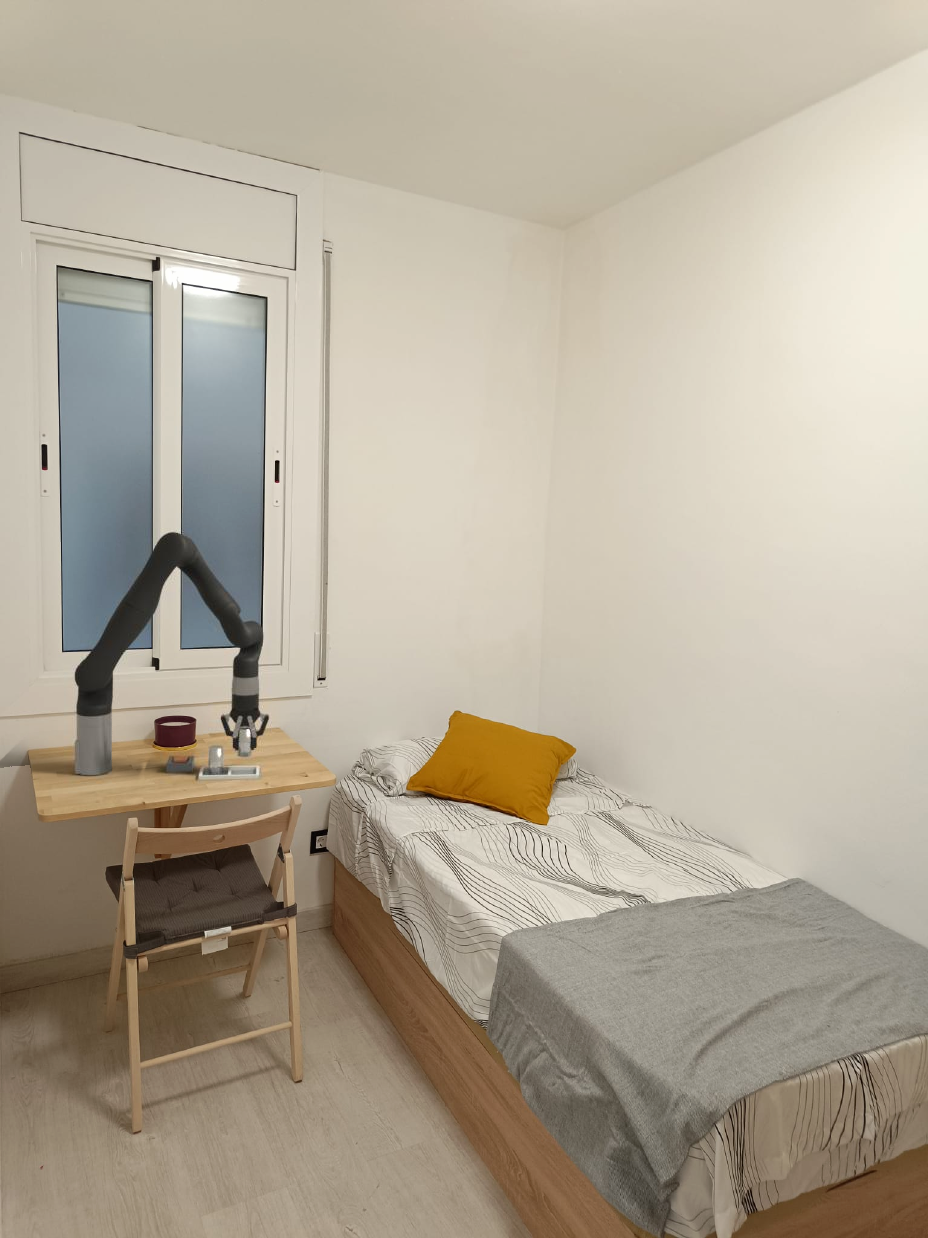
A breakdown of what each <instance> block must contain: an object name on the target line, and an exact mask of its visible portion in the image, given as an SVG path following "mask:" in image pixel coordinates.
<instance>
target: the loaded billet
mask: <svg viewBox="0 0 928 1238" xmlns="http://www.w3.org/2000/svg"><path fill="white" fill-rule="evenodd" d="M223 766H224V746H222V745H210V746H209V747H208V766H207V767H208V775H223Z"/></svg>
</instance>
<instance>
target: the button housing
mask: <svg viewBox="0 0 928 1238" xmlns="http://www.w3.org/2000/svg"><path fill="white" fill-rule="evenodd" d="M175 756H176V755H173V756H172V755H169V756H168V759H167V761H166V767H165V768H166V774H192V773H193V771H194V767H195V755H187V756H188V762H173V760H174V757H175Z"/></svg>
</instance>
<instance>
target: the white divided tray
mask: <svg viewBox="0 0 928 1238" xmlns="http://www.w3.org/2000/svg"><path fill="white" fill-rule="evenodd" d="M261 777H262V768H261V767H260V765H233V766H232V765H227V766H225V765H223V775H208V766H201V767H200V769H199V770H198V774H197V777H196V781H197V782H198V781H238V780H239V781H241V780H242V781H243V780H245V781H247V780H262V778H261Z"/></svg>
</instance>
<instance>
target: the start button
mask: <svg viewBox="0 0 928 1238" xmlns="http://www.w3.org/2000/svg"><path fill="white" fill-rule="evenodd" d="M174 756H175V757H174V760H173V762H188V756H189V755H174Z"/></svg>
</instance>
